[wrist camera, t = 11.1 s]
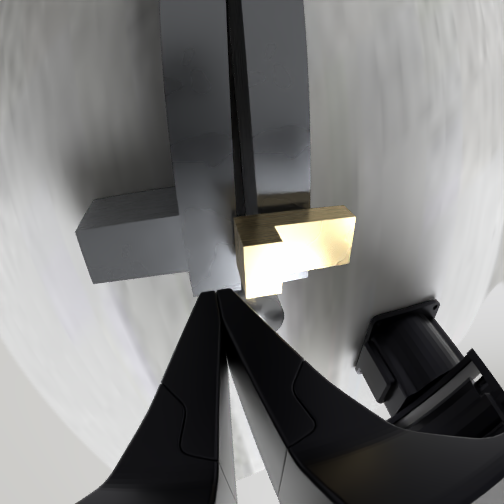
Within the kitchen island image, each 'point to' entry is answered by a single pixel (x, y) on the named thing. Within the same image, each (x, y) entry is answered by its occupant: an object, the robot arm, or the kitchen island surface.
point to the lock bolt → (290, 245)
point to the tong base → (179, 169)
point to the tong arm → (271, 116)
